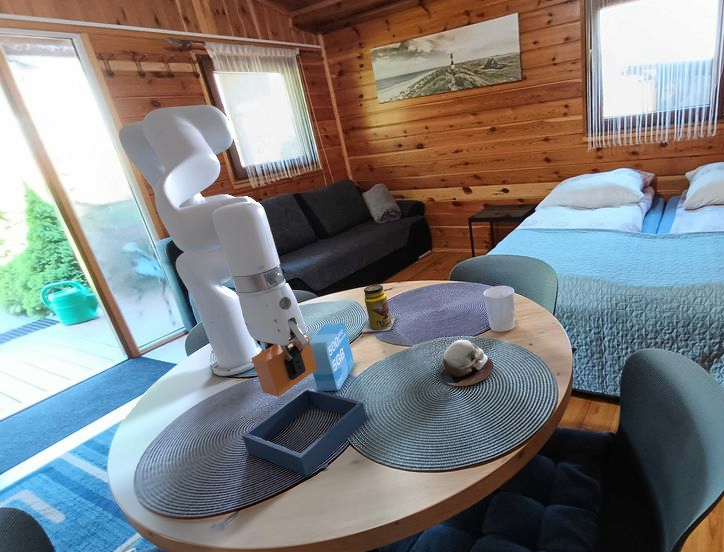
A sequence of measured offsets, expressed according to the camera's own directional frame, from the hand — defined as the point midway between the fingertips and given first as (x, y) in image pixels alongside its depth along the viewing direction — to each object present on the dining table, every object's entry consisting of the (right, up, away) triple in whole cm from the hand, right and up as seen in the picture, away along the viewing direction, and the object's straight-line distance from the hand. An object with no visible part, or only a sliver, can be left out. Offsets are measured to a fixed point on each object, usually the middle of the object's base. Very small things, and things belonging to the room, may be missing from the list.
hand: (288, 372), depth 78 cm
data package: (+2, -6, +23) cm, 24 cm away
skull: (+32, -4, +19) cm, 38 cm away
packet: (0, -2, +1) cm, 2 cm away
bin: (+2, -13, +5) cm, 14 cm away
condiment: (+7, +4, +47) cm, 47 cm away
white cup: (+42, +5, +37) cm, 56 cm away
